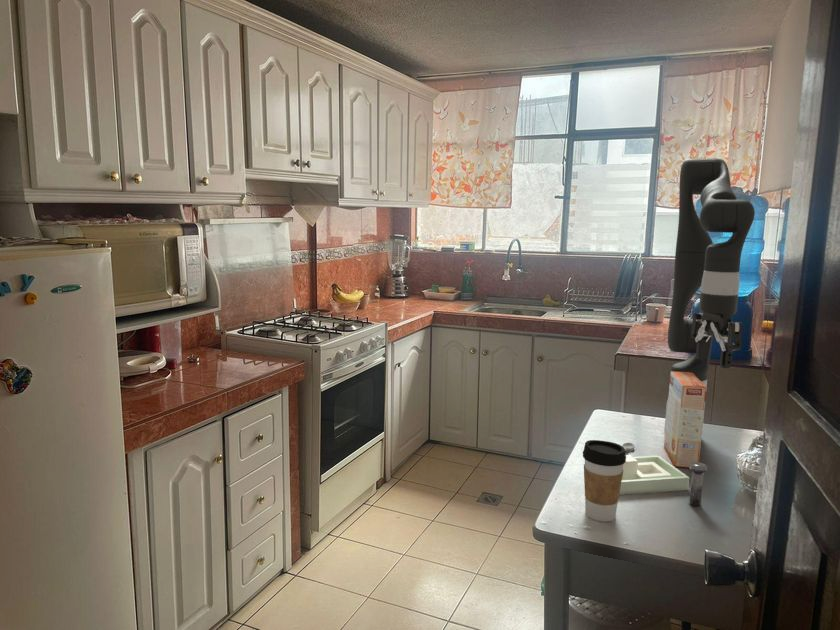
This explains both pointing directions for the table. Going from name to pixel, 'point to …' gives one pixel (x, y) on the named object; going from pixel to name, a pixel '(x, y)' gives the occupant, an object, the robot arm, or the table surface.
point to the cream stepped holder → (642, 470)
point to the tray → (656, 479)
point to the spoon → (628, 446)
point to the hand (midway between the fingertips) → (712, 362)
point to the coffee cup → (602, 478)
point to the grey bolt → (696, 483)
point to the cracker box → (684, 418)
